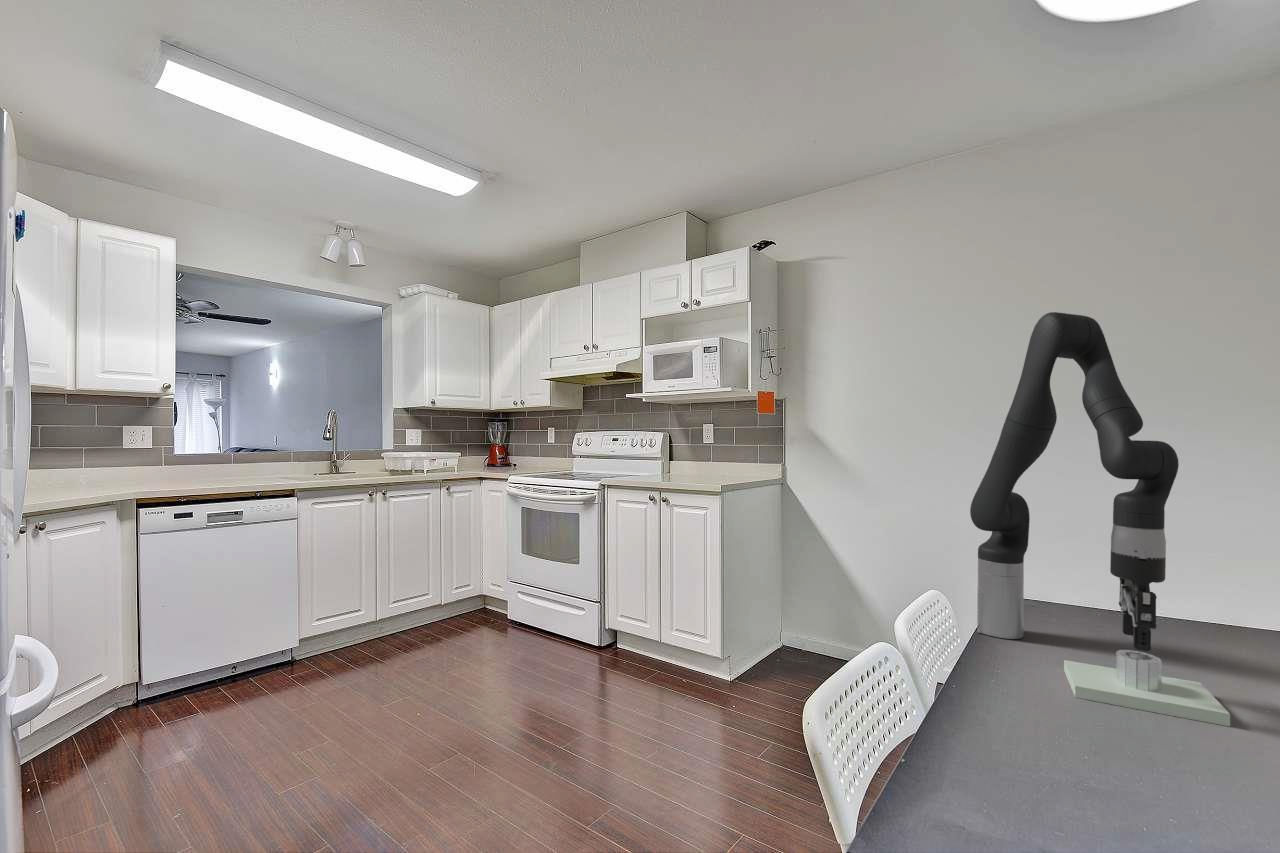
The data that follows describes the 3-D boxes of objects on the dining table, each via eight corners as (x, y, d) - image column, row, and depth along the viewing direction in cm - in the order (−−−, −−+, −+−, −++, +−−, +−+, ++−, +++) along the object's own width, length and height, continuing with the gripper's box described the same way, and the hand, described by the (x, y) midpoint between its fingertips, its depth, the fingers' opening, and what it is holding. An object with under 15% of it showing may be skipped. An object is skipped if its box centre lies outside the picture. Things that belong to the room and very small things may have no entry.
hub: (1120, 686, 103) (1120, 658, 103) (1113, 674, 108) (1113, 647, 108) (1165, 694, 100) (1165, 665, 100) (1155, 681, 105) (1155, 654, 105)
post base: (1075, 697, 103) (1075, 657, 103) (1064, 670, 115) (1064, 634, 115) (1230, 726, 93) (1230, 682, 93) (1199, 693, 105) (1199, 654, 106)
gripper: (1103, 542, 113) (1101, 626, 113) (1119, 556, 100) (1117, 650, 100) (1154, 547, 109) (1152, 634, 109) (1177, 561, 97) (1175, 660, 97)
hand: (1135, 642), depth 105 cm, fingers open, 8 cm apart
